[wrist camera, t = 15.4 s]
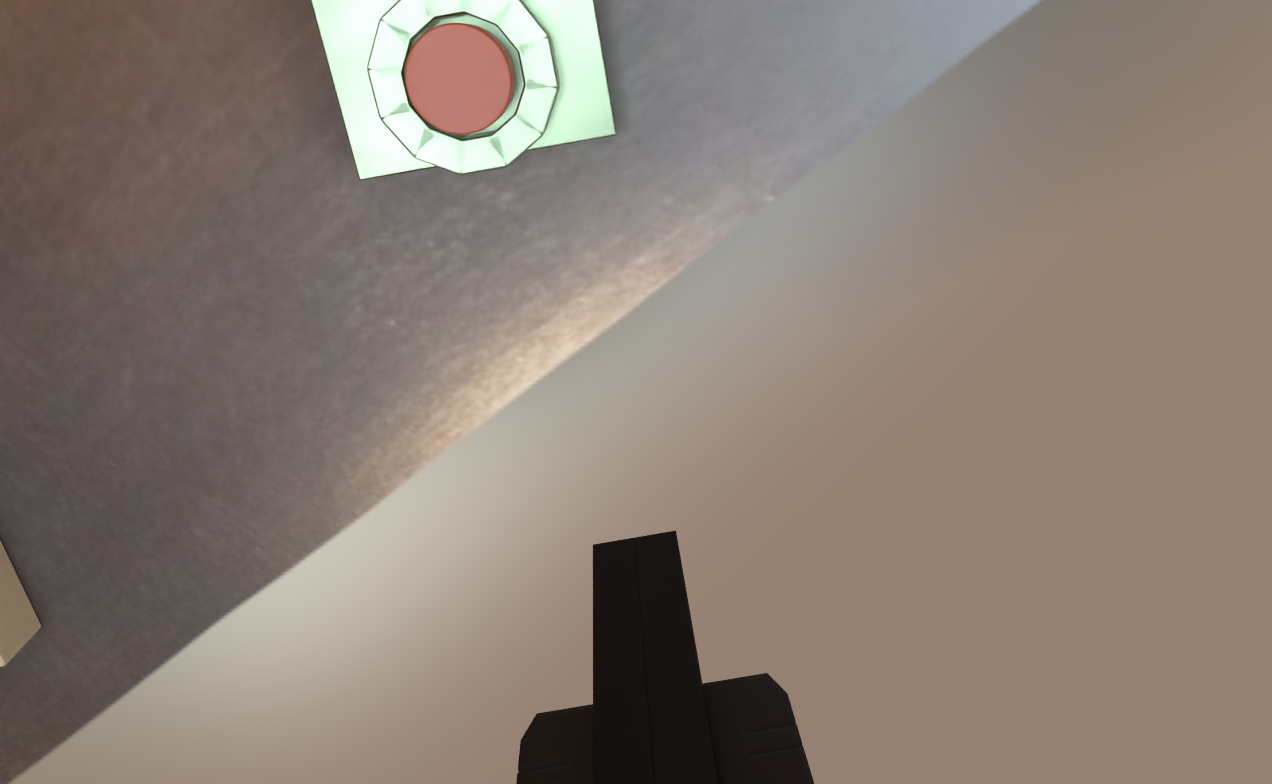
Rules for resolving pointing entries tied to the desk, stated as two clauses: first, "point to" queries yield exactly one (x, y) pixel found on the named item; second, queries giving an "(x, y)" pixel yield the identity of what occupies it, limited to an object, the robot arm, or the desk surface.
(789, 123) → the desk surface
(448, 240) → the desk surface
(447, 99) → the bell button
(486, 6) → the box
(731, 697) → the robot arm
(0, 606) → the lock plate
